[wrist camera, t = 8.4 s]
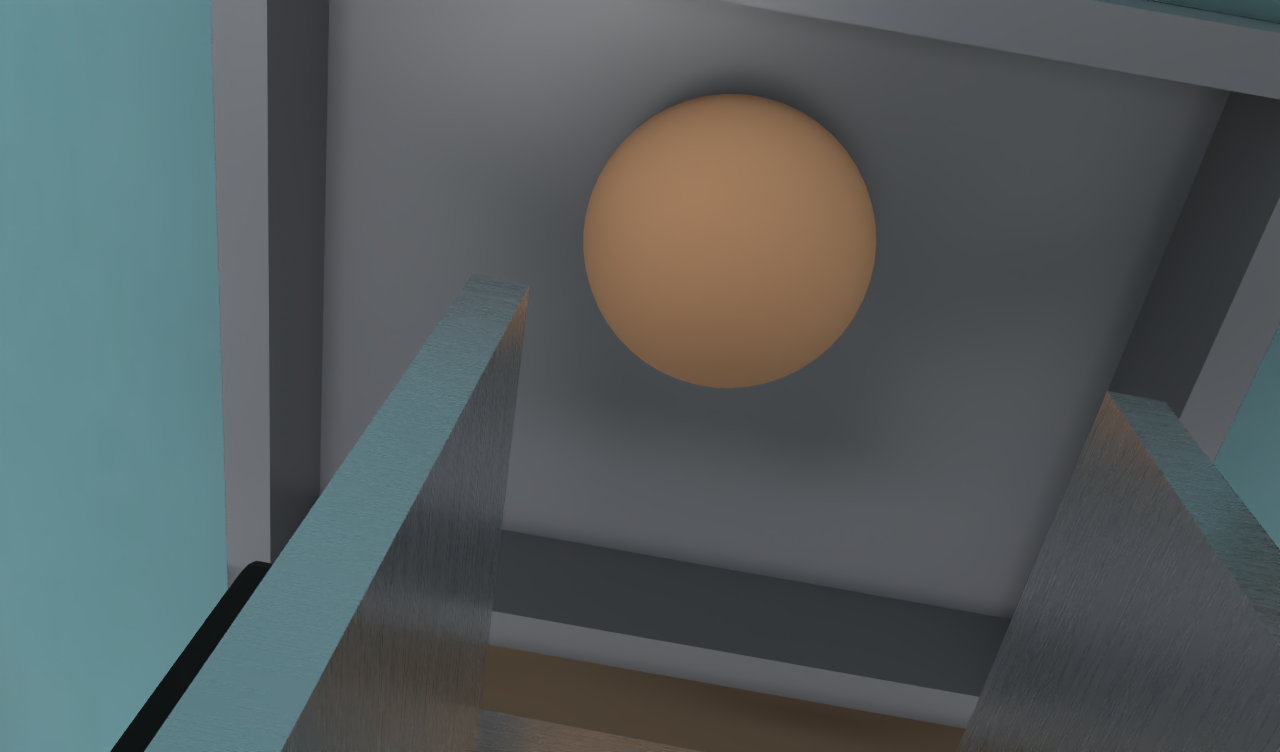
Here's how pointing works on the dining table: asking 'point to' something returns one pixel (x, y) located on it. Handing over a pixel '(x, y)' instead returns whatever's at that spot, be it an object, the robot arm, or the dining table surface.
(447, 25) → the tray
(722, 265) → the ball
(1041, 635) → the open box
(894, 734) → the ledge
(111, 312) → the dining table surface
